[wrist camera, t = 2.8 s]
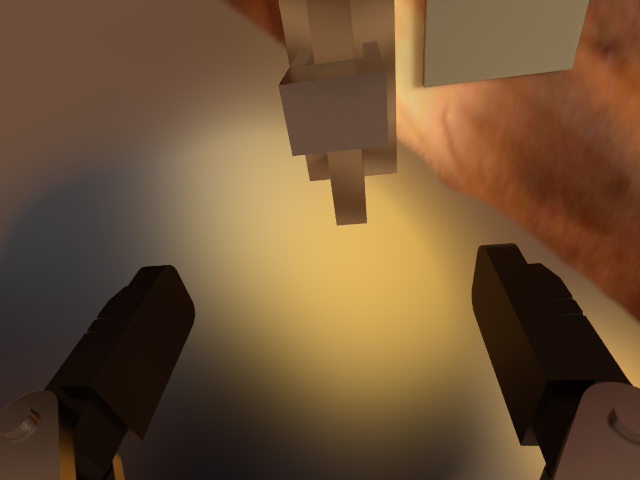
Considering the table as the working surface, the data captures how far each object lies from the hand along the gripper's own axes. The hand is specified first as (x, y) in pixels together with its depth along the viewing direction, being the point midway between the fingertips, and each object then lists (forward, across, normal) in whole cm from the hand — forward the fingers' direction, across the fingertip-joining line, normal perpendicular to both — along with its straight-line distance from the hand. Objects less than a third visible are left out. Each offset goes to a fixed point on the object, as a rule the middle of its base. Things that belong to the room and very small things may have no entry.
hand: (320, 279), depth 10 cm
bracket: (+22, 0, 0) cm, 22 cm away
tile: (+28, -13, -3) cm, 31 cm away
